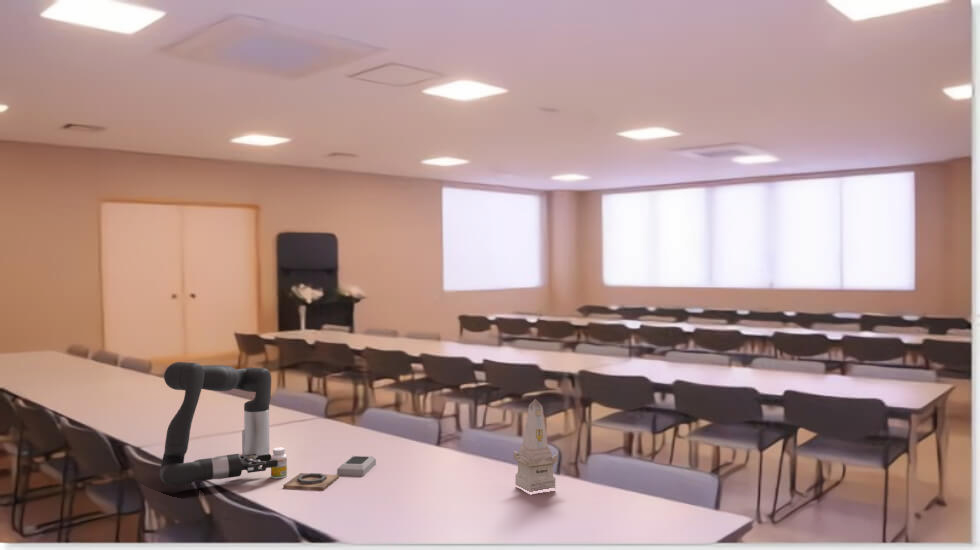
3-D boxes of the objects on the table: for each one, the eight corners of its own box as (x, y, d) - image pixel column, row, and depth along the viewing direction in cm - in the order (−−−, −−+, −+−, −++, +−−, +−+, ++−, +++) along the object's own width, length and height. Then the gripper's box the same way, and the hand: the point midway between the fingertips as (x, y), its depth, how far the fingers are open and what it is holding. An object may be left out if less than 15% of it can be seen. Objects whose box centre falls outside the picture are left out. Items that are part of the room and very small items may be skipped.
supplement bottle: (272, 474, 265) (272, 446, 265) (288, 474, 266) (288, 446, 265) (269, 479, 260) (269, 450, 260) (285, 478, 260) (285, 450, 260)
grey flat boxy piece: (337, 465, 265) (350, 454, 280) (337, 476, 265) (350, 464, 280) (363, 466, 264) (375, 455, 279) (363, 477, 264) (375, 465, 279)
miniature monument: (529, 496, 243) (530, 402, 242) (513, 487, 252) (513, 397, 251) (557, 491, 247) (557, 400, 246) (540, 482, 257) (540, 394, 256)
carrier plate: (283, 488, 250) (283, 482, 250) (300, 475, 264) (300, 470, 264) (323, 490, 248) (323, 484, 248) (339, 477, 261) (339, 472, 261)
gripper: (229, 460, 247) (279, 454, 256) (220, 450, 260) (268, 444, 268) (230, 483, 248) (279, 476, 256) (221, 472, 260) (268, 465, 268)
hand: (274, 460), depth 262 cm, fingers open, 8 cm apart
